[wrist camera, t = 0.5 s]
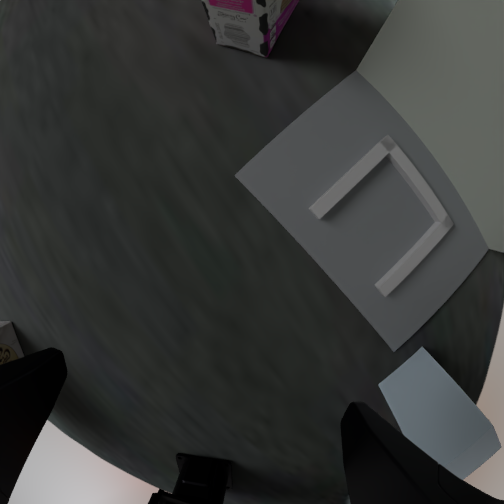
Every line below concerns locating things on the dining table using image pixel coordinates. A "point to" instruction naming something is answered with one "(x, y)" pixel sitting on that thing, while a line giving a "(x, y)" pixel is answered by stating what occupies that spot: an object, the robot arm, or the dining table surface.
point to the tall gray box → (439, 415)
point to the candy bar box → (248, 23)
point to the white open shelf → (399, 164)
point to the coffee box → (9, 343)
